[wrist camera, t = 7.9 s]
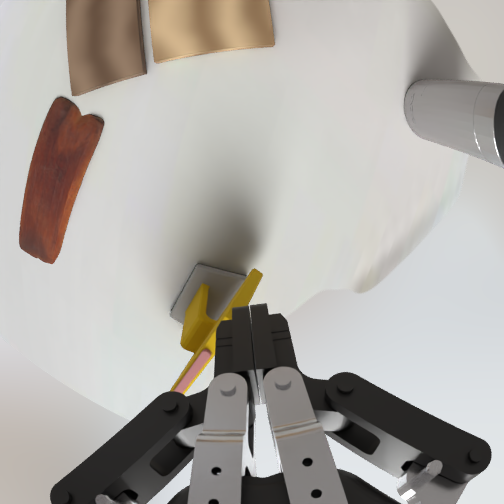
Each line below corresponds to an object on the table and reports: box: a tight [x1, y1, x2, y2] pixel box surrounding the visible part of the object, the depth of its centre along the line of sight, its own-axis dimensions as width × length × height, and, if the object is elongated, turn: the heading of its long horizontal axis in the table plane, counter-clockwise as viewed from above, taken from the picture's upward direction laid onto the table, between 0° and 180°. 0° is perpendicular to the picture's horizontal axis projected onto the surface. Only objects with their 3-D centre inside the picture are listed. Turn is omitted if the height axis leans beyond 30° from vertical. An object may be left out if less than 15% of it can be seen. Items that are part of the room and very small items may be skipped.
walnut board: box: [66, 0, 147, 96], centre depth 24 cm, size 10×18×2 cm, turn 6°
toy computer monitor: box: [170, 264, 263, 395], centre depth 38 cm, size 20×8×16 cm, turn 149°
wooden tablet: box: [19, 97, 104, 264], centre depth 35 cm, size 27×10×2 cm, turn 147°
